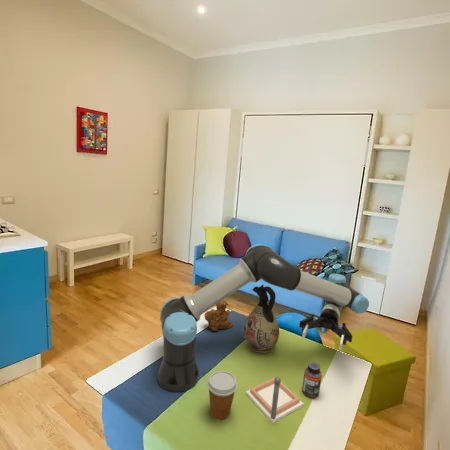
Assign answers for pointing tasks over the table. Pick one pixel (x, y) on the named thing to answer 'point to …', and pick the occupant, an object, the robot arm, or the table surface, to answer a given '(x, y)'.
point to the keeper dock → (269, 400)
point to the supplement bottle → (312, 380)
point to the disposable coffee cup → (221, 393)
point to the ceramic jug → (262, 322)
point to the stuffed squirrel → (218, 317)
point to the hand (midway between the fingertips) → (321, 341)
